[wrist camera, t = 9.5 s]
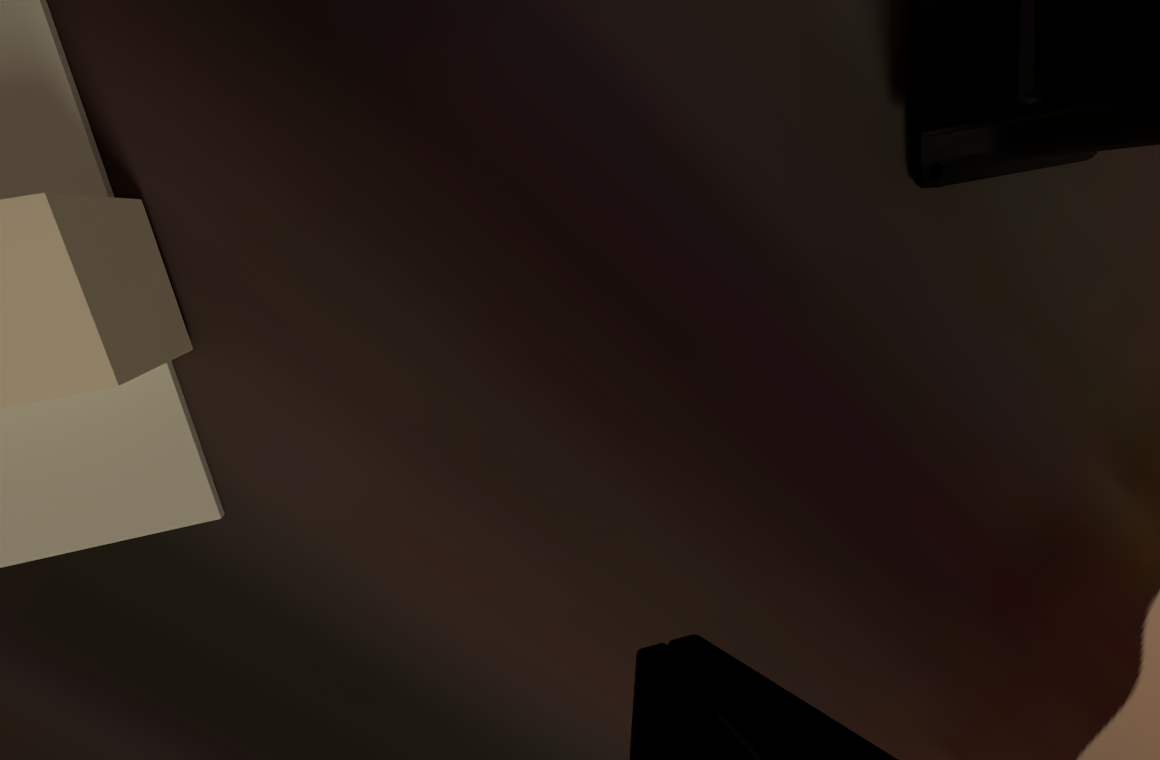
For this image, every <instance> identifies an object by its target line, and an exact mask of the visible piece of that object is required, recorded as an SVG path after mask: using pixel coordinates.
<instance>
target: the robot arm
mask: <svg viewBox="0 0 1160 760" xmlns="http://www.w3.org/2000/svg"><path fill="white" fill-rule="evenodd" d="M909 6H910V81H911V120H912V163H913V178H914V181H915V183H916V184H917V185H918V186H920V187H921V188H934V187H941V186H946V185H952V184H957V183H963V182H969V181H974V180H980V179H985V178H991V177H996V176H1002V175H1007V174H1013V173H1019V172H1024V171H1030V170H1035V169H1041V168H1046V167H1052V166H1057V165H1063V164H1068V163H1074V162H1080V161H1085V160H1088V159H1091V158H1092V157H1093V156H1094V155H1095V154H1096V153H1097V151H1104V150H1113V149H1122V148H1131V147H1140V146H1149V145H1158V144H1160V0H909ZM931 165H932V166H933V168H934V173H933V176H932V177H930V176H929V167H930V166H931ZM630 760H898V759H896V758H895V757H893V756H891V755H890V754H888V753H887V752H885V751H883V750H882V749H880V748H879V747H877V746H875V745H874V744H872V743H870V742H869V741H867V740H866V739H864V738H862V737H861V736H859V735H858V734H856V733H854V732H853V731H851V730H850V729H848V728H846V727H845V726H843V725H842V724H840V723H838V722H837V721H835V720H834V719H832V718H830V717H829V716H827V715H826V714H824V713H822V712H821V711H819V710H818V709H816V708H814V707H813V706H811V705H810V704H808V703H806V702H805V701H803V700H802V699H800V698H798V697H797V696H795V695H793V694H792V693H790V692H789V691H787V690H785V689H784V688H782V687H781V686H779V685H777V684H776V683H774V682H773V681H771V680H769V679H768V678H766V677H765V676H763V675H761V674H760V673H758V672H757V671H755V670H753V669H752V668H750V667H749V666H747V665H745V664H744V663H742V662H741V661H739V660H737V659H736V658H734V657H733V656H731V655H729V654H728V653H726V652H725V651H723V650H721V649H720V648H718V647H716V646H715V645H713V644H712V643H710V642H708V641H707V640H705V639H704V638H702V637H700V636H698V635H695V634H694V635H689V636H685V637H681V638H678V639H674V640H671V641H670V642H669V643H668V646H667V645H666V644H664V643H659V644H656V645H652V646H649V647H645V648H641V649H639V650H638V651H637V654H636V669H635V684H634V699H633V714H632V729H631V745H630Z"/></svg>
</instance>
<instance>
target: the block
mask: <svg viewBox="0 0 1160 760" xmlns="http://www.w3.org/2000/svg"><path fill="white" fill-rule="evenodd" d="M192 350H193V348H192V345H191V342H190V339H189V336H188V333H187V330H186V327H185V324H184V321H183V319H182V316H181V313H180V310H179V307H178V304H177V301H176V298H175V295H174V292H173V290H172V287H171V284H170V281H169V278H168V275H167V272H166V269H165V266H164V263H163V261H162V258H161V255H160V252H159V249H158V246H157V243H156V240H155V237H154V234H153V232H152V229H151V226H150V223H149V220H148V217H147V214H146V211H145V208H144V205H143V203H142V200H141V199H128V198H113V197H99V196H85V195H71V194H57V193H39V194H33V195H26V196H20V197H14V198H7V199H1V200H0V409H4V408H9V407H14V406H19V405H24V404H29V403H34V402H39V401H44V400H50V399H55V398H60V397H65V396H70V395H75V394H80V393H85V392H90V391H95V390H100V389H105V388H110V387H115V386H119V385H122V384H124V383H126V382H128V381H130V380H132V379H134V378H136V377H138V376H140V375H142V374H144V373H146V372H148V371H150V370H152V369H154V368H157V367H159V366H161V365H163V364H165V363H167V362H169V361H171V360H173V359H175V358H177V357H179V356H181V355H183V354H185V353H187V352H190V351H192Z"/></svg>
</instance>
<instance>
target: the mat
mask: <svg viewBox="0 0 1160 760" xmlns="http://www.w3.org/2000/svg"><path fill="white" fill-rule="evenodd" d="M39 193H57V194H71V195H85V196H99V197H113V198H115V197H114V194H113V191H112V188H111V186H110V183H109V180H108V177H107V174H106V171H105V168H104V165H103V163H102V160H101V157H100V154H99V151H98V148H97V145H96V142H95V140H94V137H93V134H92V131H91V128H90V125H89V122H88V119H87V117H86V114H85V111H84V108H83V105H82V102H81V99H80V96H79V93H78V91H77V88H76V85H75V82H74V79H73V76H72V73H71V70H70V68H69V65H68V62H67V59H66V56H65V53H64V50H63V47H62V45H61V42H60V39H59V36H58V33H57V30H56V27H55V24H54V22H53V19H52V16H51V13H50V10H49V7H48V4H47V1H46V0H0V200H1V199H7V198H14V197H20V196H26V195H33V194H39ZM224 514H225V513H224V511H223V508H222V505H221V502H220V499H219V496H218V493H217V490H216V488H215V485H214V482H213V479H212V476H211V473H210V470H209V467H208V465H207V462H206V459H205V456H204V453H203V450H202V447H201V444H200V442H199V439H198V436H197V433H196V430H195V427H194V424H193V421H192V419H191V416H190V413H189V410H188V407H187V404H186V401H185V398H184V396H183V393H182V390H181V387H180V384H179V381H178V378H177V375H176V372H175V370H174V367H173V364H172V361H169V362H167V363H165V364H163V365H161V366H159V367H157V368H154V369H152V370H150V371H148V372H146V373H144V374H142V375H140V376H138V377H136V378H134V379H132V380H130V381H128V382H126V383H124V384H122V385H119V386H115V387H110V388H105V389H100V390H95V391H90V392H85V393H80V394H75V395H70V396H65V397H60V398H55V399H50V400H44V401H39V402H34V403H29V404H24V405H19V406H14V407H9V408H4V409H0V568H1V567H5V566H10V565H14V564H19V563H23V562H28V561H32V560H37V559H41V558H46V557H50V556H55V555H59V554H64V553H68V552H73V551H77V550H82V549H86V548H91V547H95V546H100V545H104V544H109V543H113V542H118V541H122V540H127V539H131V538H136V537H140V536H145V535H149V534H154V533H158V532H163V531H167V530H172V529H176V528H181V527H185V526H190V525H194V524H199V523H203V522H208V521H212V520H217V519H221V518H222V517H223V516H224Z"/></svg>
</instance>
